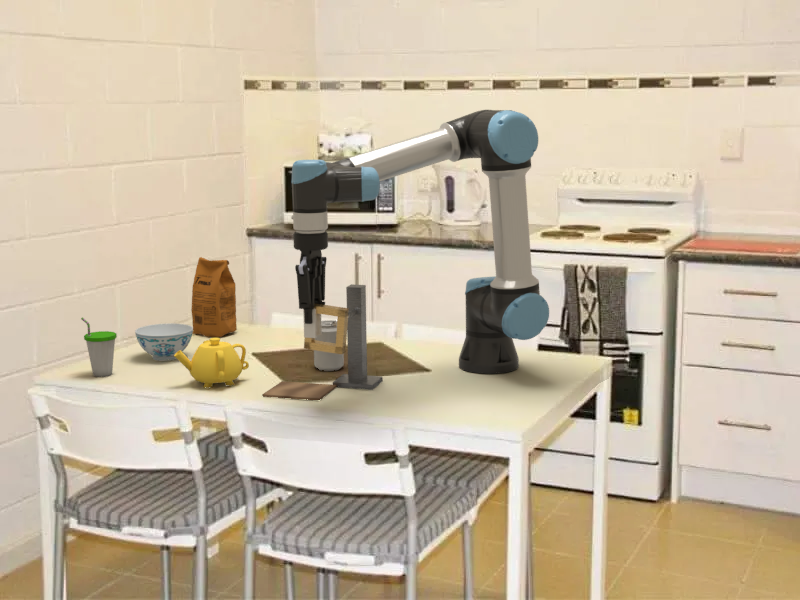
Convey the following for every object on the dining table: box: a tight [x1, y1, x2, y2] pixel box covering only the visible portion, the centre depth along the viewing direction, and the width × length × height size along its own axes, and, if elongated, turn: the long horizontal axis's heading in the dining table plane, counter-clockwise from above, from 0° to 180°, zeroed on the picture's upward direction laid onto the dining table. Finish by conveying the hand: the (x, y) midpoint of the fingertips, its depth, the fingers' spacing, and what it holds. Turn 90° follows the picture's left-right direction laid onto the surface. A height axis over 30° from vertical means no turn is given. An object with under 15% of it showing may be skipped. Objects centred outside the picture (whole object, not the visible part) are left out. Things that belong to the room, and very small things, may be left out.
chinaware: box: [134, 322, 193, 362], centre depth 306 cm, size 15×15×8 cm
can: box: [313, 319, 345, 372], centre depth 293 cm, size 8×8×12 cm
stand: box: [331, 283, 384, 391], centre depth 270 cm, size 10×20×24 cm, turn 164°
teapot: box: [174, 337, 250, 389], centre depth 280 cm, size 14×14×11 cm
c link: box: [303, 303, 349, 354], centre depth 256 cm, size 9×2×10 cm, turn 74°
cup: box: [80, 317, 118, 378], centre depth 288 cm, size 8×8×15 cm
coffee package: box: [190, 256, 238, 338], centre depth 333 cm, size 10×12×22 cm
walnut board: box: [261, 380, 338, 401], centre depth 272 cm, size 14×12×1 cm
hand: (312, 335), depth 257 cm, fingers closed on c link, 2 cm apart
